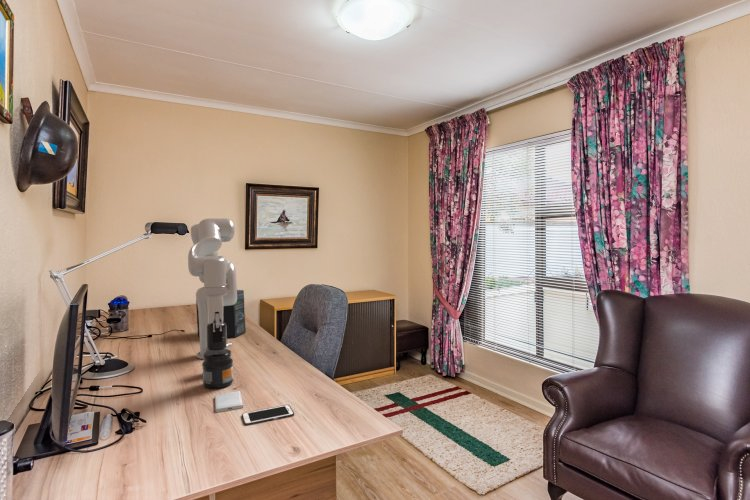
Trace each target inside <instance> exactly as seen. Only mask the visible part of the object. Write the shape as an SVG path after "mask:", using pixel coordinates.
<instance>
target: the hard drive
mask: <svg viewBox="0 0 750 500" xmlns="http://www.w3.org/2000/svg"><path fill="white" fill-rule="evenodd" d="M214 401H215V402H214V405H215V406H214V407H215V413H221V412H227V411H232V410H239V409H243V408H244V403H243V398H242V394H241V391H240V390H239V391H232V392H225V393H220V394H215V395H214Z"/></svg>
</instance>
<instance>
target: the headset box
mask: <svg viewBox="0 0 750 500" xmlns="http://www.w3.org/2000/svg"><path fill="white" fill-rule="evenodd" d="M244 294H245V290H243V289H237V302H236V303H235V304H234V305H230V306H223V319H224V320H223V322H224V323H226V326H227V338H237V337H239V336H241V335H243V334H245V333H246V332H247V331H246V330H247V329H246V315H245V295H244ZM195 302H196V303H195V305H196V307H195V308H196V323H197V325H196V326H197V337H198V338H200V336H199V313H198V305H197V300H196V299H195Z"/></svg>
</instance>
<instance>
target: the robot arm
mask: <svg viewBox="0 0 750 500" xmlns="http://www.w3.org/2000/svg"><path fill="white" fill-rule="evenodd" d="M235 228H236V227H235V224H234V222H233V220H232V219H230V218H204V219H202V220H201V221H200V222H199V223H196V224H193V225H192V226H191V227H190V237H191V240H192V243H193V245H192V247H190V250H189V251H188V255H187V267H188V272H189V274H190V275H191V276H193V277H198V279H199V281H200V282H201V283H203V286H202V287H200V288H198V289H197V290H196V293H195V301H196V300H197V305H198V313H199V336H200V337H199V351H198V352H197V353H196V358H197V359H199V360H204V359H203V354H204V353H205V349H206V348H207V325H208V324H211V323H213V343H218V342H222V329H221V323H222V322H223V306H230V305H234V304H235V303H236V302H237V290H238V287H237V286H238V285H237V284H238V283H237V272H236V267H235V265H234V263H233V262H231V261H229V260H228V258H227V257H226V256H224V255H218V251H219V250H220V249H221V248H222V243H223V242H224V243H227V242H230V241H232V240H233V238H234V236H235V230H236V229H235ZM219 321H220V322H219ZM214 322H216V323H214ZM232 347H233V344H232V342H229V343H228V342H227V347H226V348H225V349H228V348H232Z"/></svg>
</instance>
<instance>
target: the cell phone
mask: <svg viewBox="0 0 750 500" xmlns="http://www.w3.org/2000/svg"><path fill="white" fill-rule="evenodd" d="M294 416H295V412H294V409H293V408H292V406H291V405H290V404H283V405H278V406H273V407H268V408H263V409H262V408H261V409H258V410H251V411H246V412H243V413H241V419H242V421H243V425H244V426H251V425H256V424H257V425H258V424H261V423H265V422H267V423H268V422H270V421H276V420H280V419H287V418H290V417H294Z"/></svg>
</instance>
